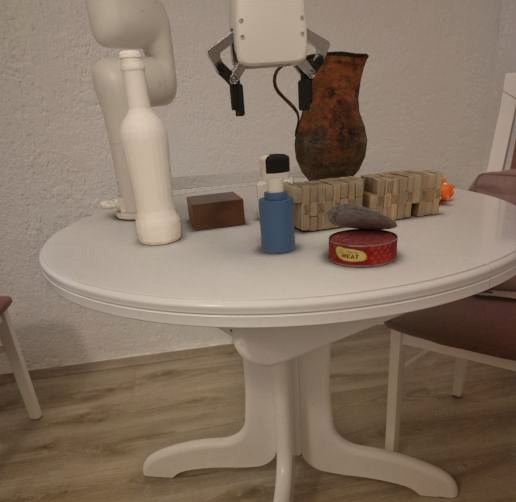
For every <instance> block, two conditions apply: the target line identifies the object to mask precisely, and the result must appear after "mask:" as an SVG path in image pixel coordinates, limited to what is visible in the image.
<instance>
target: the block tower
mask: <svg viewBox="0 0 516 502" xmlns="http://www.w3.org/2000/svg"><path fill="white" fill-rule="evenodd" d="M442 178H444V172H442V171H437V170H436V171H434V170H430V169H423V170H420V169H414V168H412V169H407V170H406V169H405V170H395V171H393V170H392V171H384V172H380V173H379V172H377V173H368V174H361V175H360V177H358V176H355V175H354V176H347V177H340V178H326V179H319V180H318V181H317V180H315V181H309V180H307V181H298V182H294V183H290V182H284V190H286V191H287V196H292V197H293V203H294V228H296V229H298V230H300V231H303V232H304V231H309V232H313V231H314V232H315V231H317V230H318V231H320V230H327V229H332V228H333V229H334V228H339V227H340V228H342V227H341V226H337V225H334V224H332V223H330V221H329V220H328V218H327V216H328V213H329V210H330V209H331V208H332V207H333V206H334V205H341V204H343V203H350V204H357V205H361V206H363V207H365V208H368V209H371V210H374V211H377V212H378V213H380V214H382V215H385V216H387V217H389V218H390V219H391V220H393V221H395V220H403V219H404V218H411V215H412V216H415V217H424V216H430V215H438V214H439V208H440V207H439V206H440V201H441V200H440V193H441V186H442Z"/></svg>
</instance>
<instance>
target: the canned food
mask: <svg viewBox="0 0 516 502" xmlns="http://www.w3.org/2000/svg"><path fill="white" fill-rule="evenodd" d="M327 218H328V220H329V221H330V223H332V224H334V225H337V226H341V227H340V228H347V229H344V230H339V231H336V232H333V233H332V234H330V235H329V236H328V259H329V261H331V262H332V263H334V264H335V265H338V266H339V265H340V266H344V267H350V268H352V267H353V268H371V267H379V266H385V265H387V264H390V263H393V262H394V261H395V260H396V259H397V251H398V240H399V239H398V238H399V235H398V234H397V233H395V232H393V231H390V230H391V229H395V228H397V227H398V224H397V221H395V220H391V219H390V218H389V217H387V216H385V215H382V214H380V213H378V212H377V211H374V210H371V209H368V208H365V207H363V206H361V205H357V204H350V203H343V204H341V205H334V206H333V207H332V208H331V209H330V210H329V213H328V216H327ZM348 228H349V229H348Z"/></svg>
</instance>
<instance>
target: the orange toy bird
mask: <svg viewBox="0 0 516 502" xmlns="http://www.w3.org/2000/svg"><path fill="white" fill-rule="evenodd" d="M447 181H448V179H447V178H445V177H443V178H442V186H441V193H440V201H447V202H449V201H450V200H451V198H452V197H453V196H454V195H455V191H454V189H455V188H456V187H455V186H456V185H455V184H450V183H446V182H447Z"/></svg>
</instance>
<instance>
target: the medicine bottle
mask: <svg viewBox="0 0 516 502" xmlns="http://www.w3.org/2000/svg"><path fill="white" fill-rule="evenodd" d="M258 161H259V175H260V178H259V180H258V182H257V183H256V196H257V197H256V198H257V212H258V219H259V220H260V215H259V199H260V198H262V197H264V192H266V191H267V182H266V179H267V178H270V177H283V180H284V182H290V183H295V181H294V176H290V175H291V165H290V162H291V161H290V156H289V155H288V154H286V153H269V154H264V155H262V156H260V158H259V160H258Z"/></svg>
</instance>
